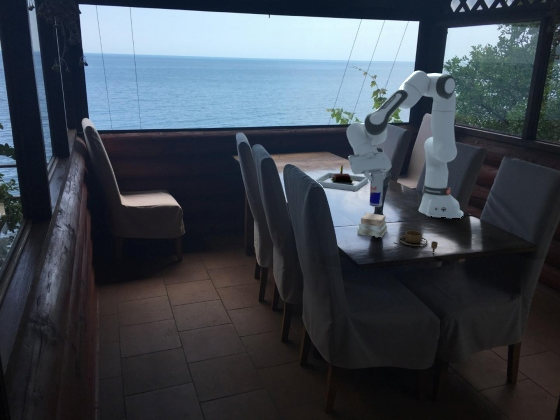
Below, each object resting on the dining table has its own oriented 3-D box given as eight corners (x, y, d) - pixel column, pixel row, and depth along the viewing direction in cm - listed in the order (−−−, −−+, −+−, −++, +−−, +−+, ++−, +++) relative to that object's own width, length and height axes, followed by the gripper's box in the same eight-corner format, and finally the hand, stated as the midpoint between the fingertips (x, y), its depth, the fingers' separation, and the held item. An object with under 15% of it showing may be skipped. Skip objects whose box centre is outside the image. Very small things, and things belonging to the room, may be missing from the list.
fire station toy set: (351, 181, 320) (352, 165, 317) (356, 189, 301) (358, 171, 298) (329, 181, 319) (330, 164, 316) (333, 189, 300) (334, 171, 297)
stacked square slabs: (386, 230, 228) (388, 215, 225) (381, 237, 218) (382, 222, 216) (363, 226, 232) (364, 211, 230) (357, 233, 222) (358, 218, 220)
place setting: (432, 240, 218) (433, 228, 217) (438, 257, 199) (440, 244, 198) (392, 237, 221) (393, 225, 219) (394, 253, 202) (395, 240, 200)
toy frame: (368, 181, 319) (368, 177, 319) (355, 191, 296) (356, 186, 295) (328, 176, 331) (328, 172, 330) (313, 185, 307) (313, 180, 306)
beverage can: (374, 203, 225) (375, 171, 221) (384, 205, 221) (386, 173, 217) (366, 205, 221) (368, 173, 217) (377, 207, 217) (378, 174, 213)
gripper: (350, 151, 215) (362, 178, 210) (386, 148, 225) (398, 173, 219) (343, 159, 220) (355, 185, 215) (379, 156, 230) (391, 181, 224)
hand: (377, 179), depth 217 cm, fingers closed on beverage can, 5 cm apart
